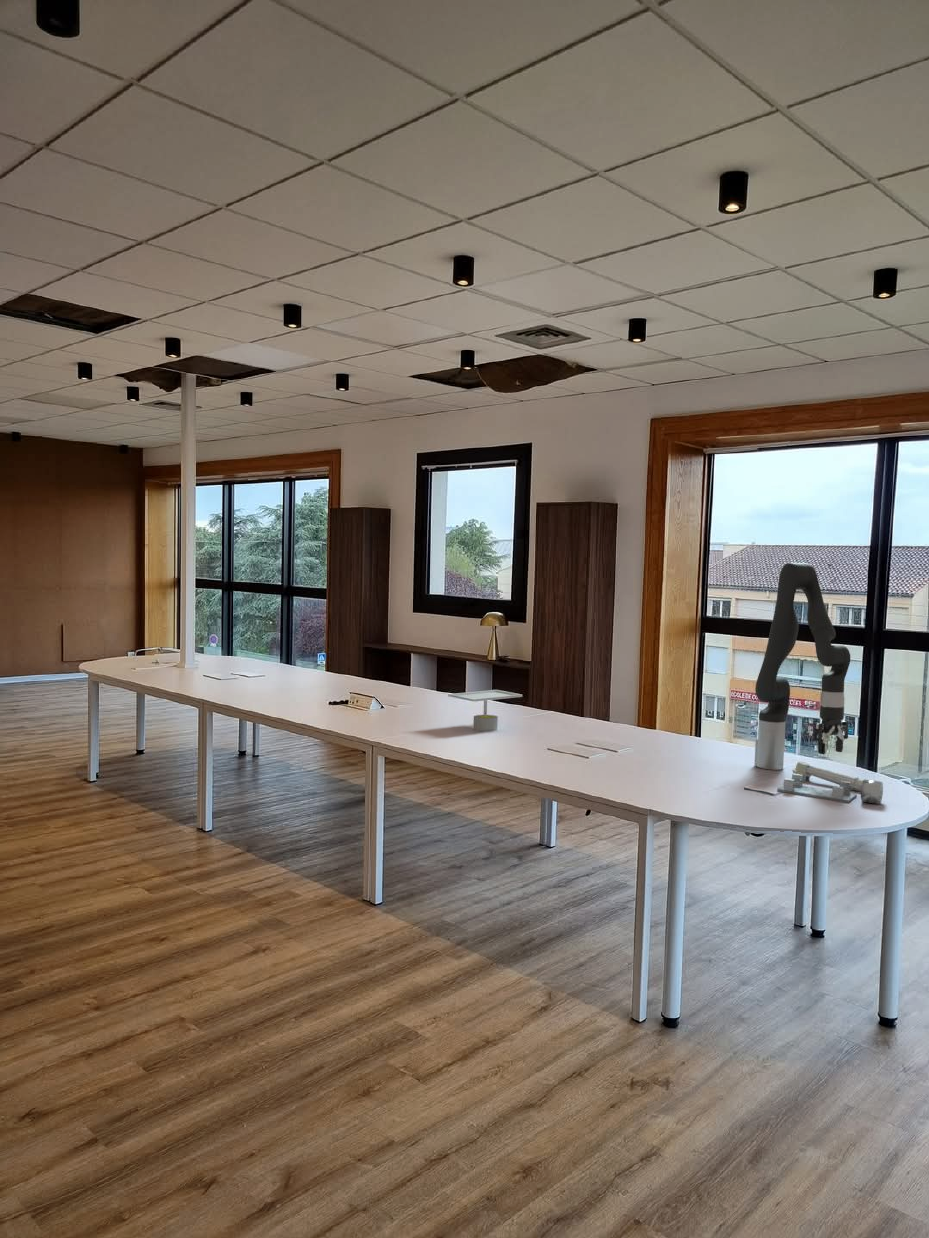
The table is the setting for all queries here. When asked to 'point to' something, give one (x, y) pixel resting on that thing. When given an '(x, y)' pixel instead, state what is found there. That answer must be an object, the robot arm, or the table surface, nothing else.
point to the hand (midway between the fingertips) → (830, 752)
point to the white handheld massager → (826, 775)
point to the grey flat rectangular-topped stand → (485, 707)
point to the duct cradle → (834, 790)
